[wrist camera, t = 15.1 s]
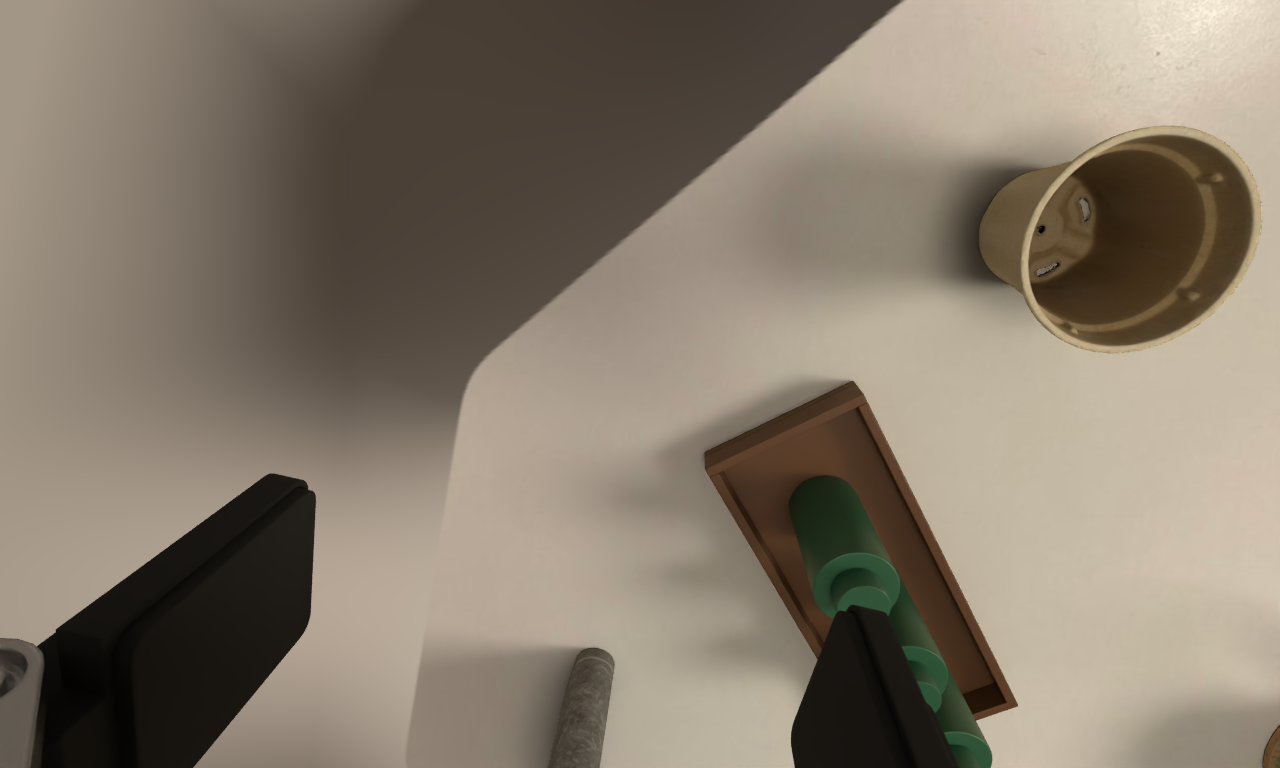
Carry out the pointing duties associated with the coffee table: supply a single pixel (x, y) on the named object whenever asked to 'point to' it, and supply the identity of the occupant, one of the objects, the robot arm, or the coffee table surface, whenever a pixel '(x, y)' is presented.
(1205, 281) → the flower pot
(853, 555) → the bottle
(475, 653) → the coffee table surface
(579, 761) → the flask
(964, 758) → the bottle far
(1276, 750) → the mug
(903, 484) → the tray
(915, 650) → the bottle mid
